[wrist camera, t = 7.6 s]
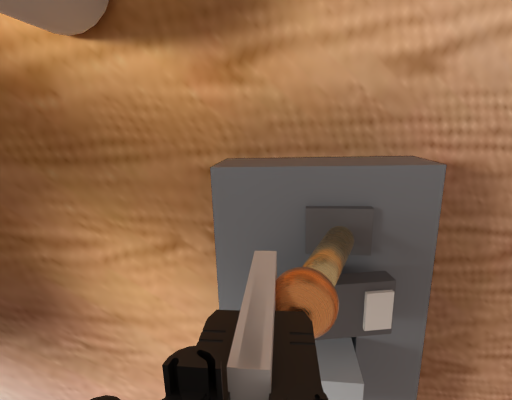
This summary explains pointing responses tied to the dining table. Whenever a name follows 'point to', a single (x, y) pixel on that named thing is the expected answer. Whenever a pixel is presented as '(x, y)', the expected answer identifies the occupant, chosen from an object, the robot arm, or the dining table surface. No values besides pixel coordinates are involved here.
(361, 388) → the button grey
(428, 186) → the console
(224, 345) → the robot arm
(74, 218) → the dining table surface
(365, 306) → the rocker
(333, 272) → the toggle
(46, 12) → the can
